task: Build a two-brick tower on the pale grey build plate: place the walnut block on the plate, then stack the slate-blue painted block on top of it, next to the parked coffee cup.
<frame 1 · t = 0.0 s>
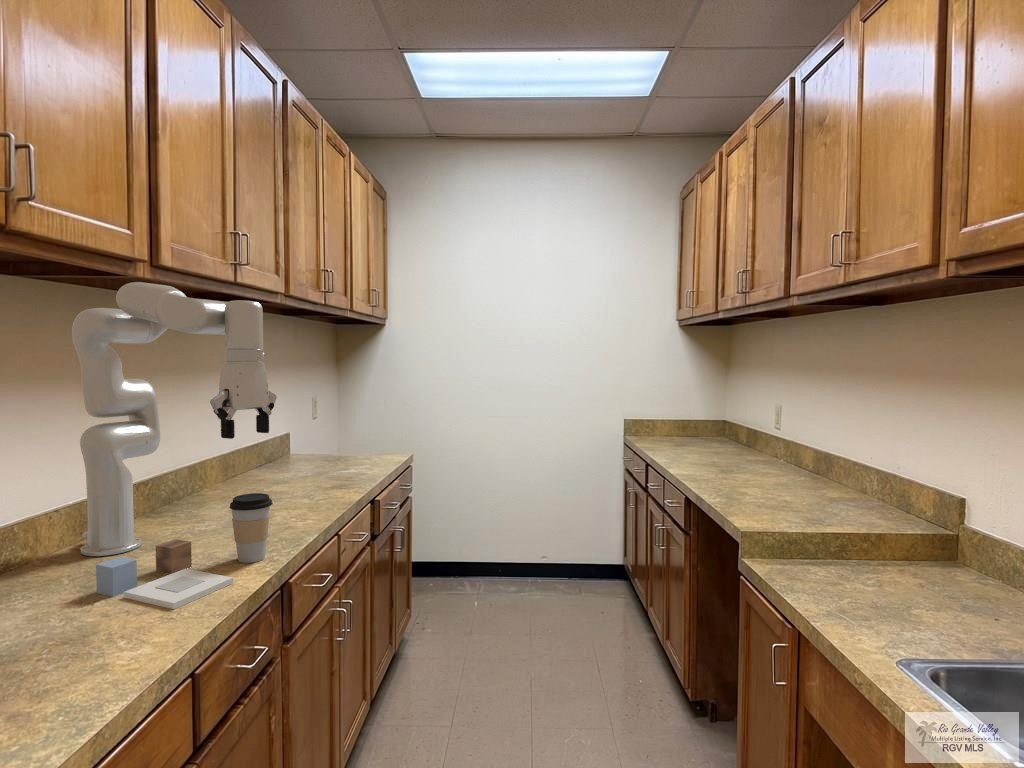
hand: (245, 435, 129), 31 cm above the worktop, fingers open, 9 cm apart
coffee cup: (252, 559, 140), on the worktop
block walnut: (174, 569, 133), on the worktop
build plate: (180, 590, 121), on the worktop
block blue: (117, 590, 121), on the worktop
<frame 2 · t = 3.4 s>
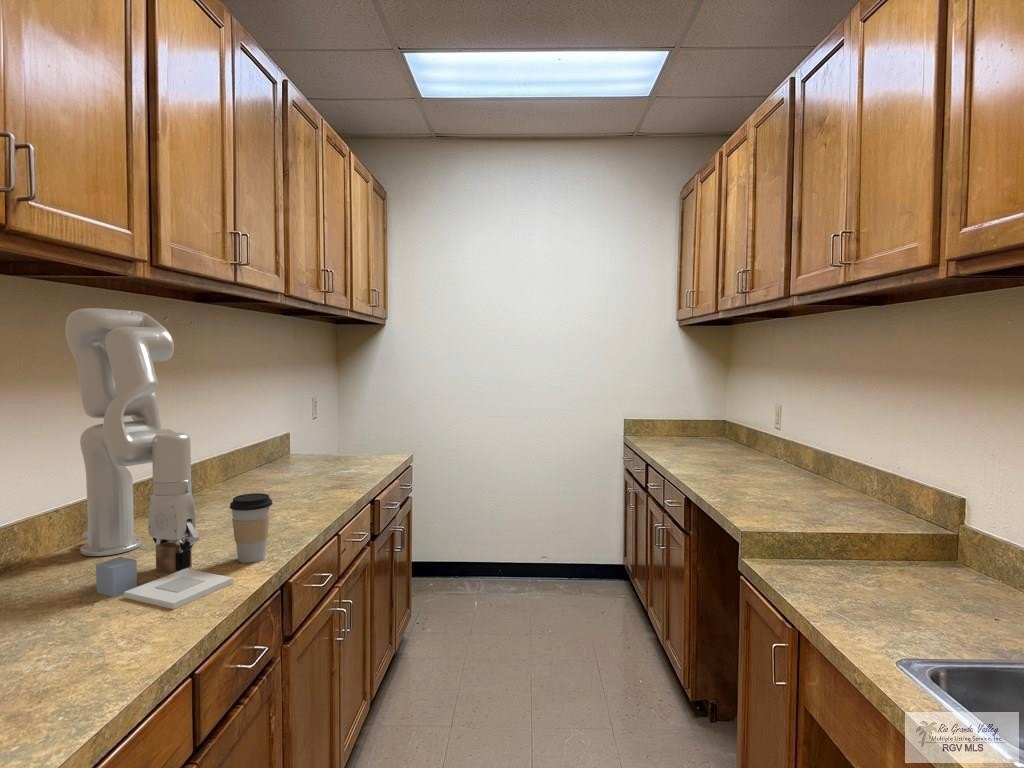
hand: (174, 565, 133), 1 cm above the worktop, fingers closed on block walnut, 5 cm apart
block walnut: (174, 569, 133), on the worktop, touching gripper
everything else where it was.
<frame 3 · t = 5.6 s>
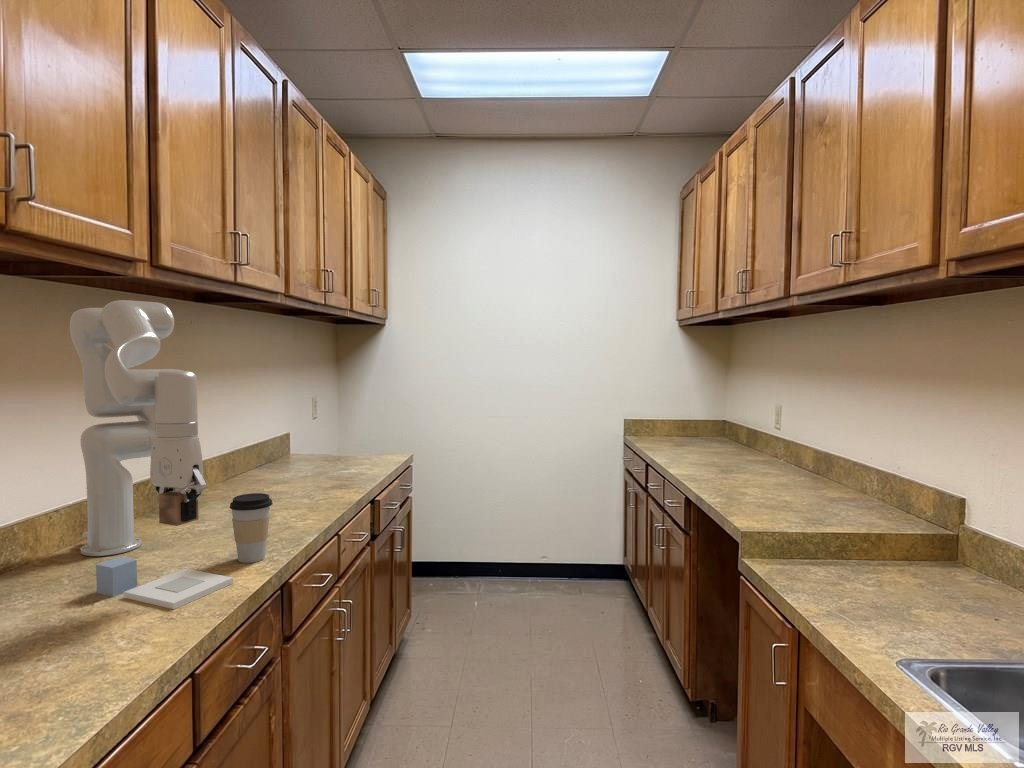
hand: (179, 517, 121), 15 cm above the worktop, fingers closed on block walnut, 5 cm apart
block walnut: (179, 521, 121), point 14 cm above the worktop, touching gripper
everything else where it was.
when the fingers open (3 cm above the worktop, at t = 8.1 s): block walnut drops 1 cm, resting on build plate.
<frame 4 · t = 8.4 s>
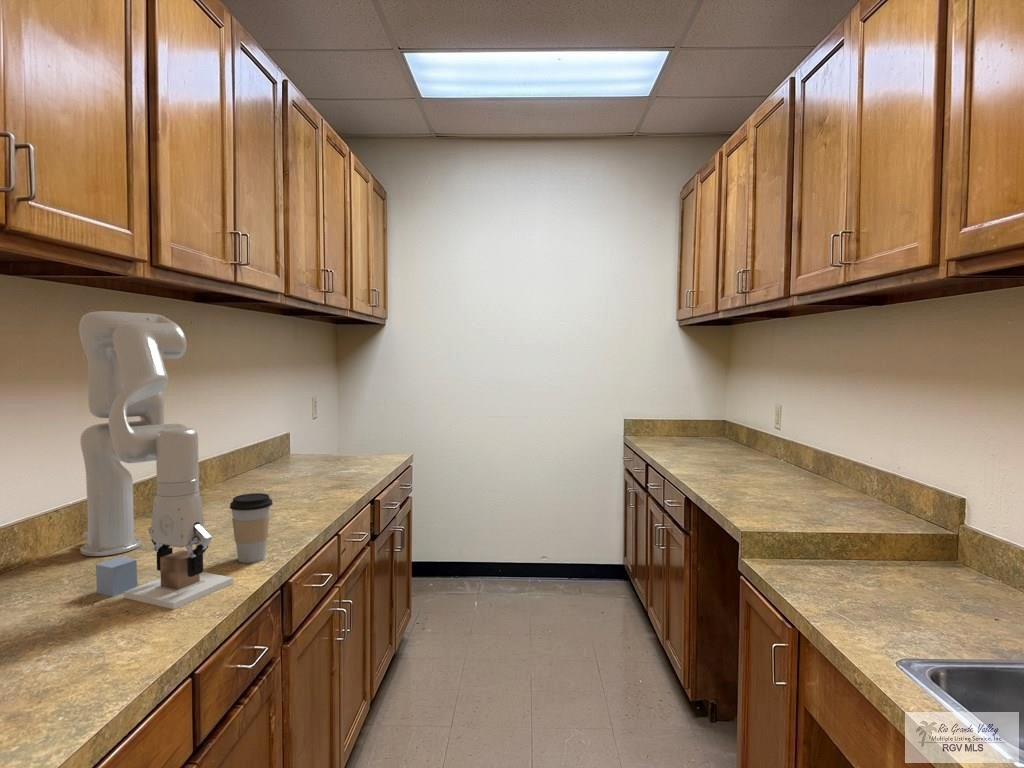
hand: (180, 571, 121), 4 cm above the worktop, fingers open, 8 cm apart
block walnut: (180, 583, 121), point 1 cm above the worktop, touching build plate
everything else where it was.
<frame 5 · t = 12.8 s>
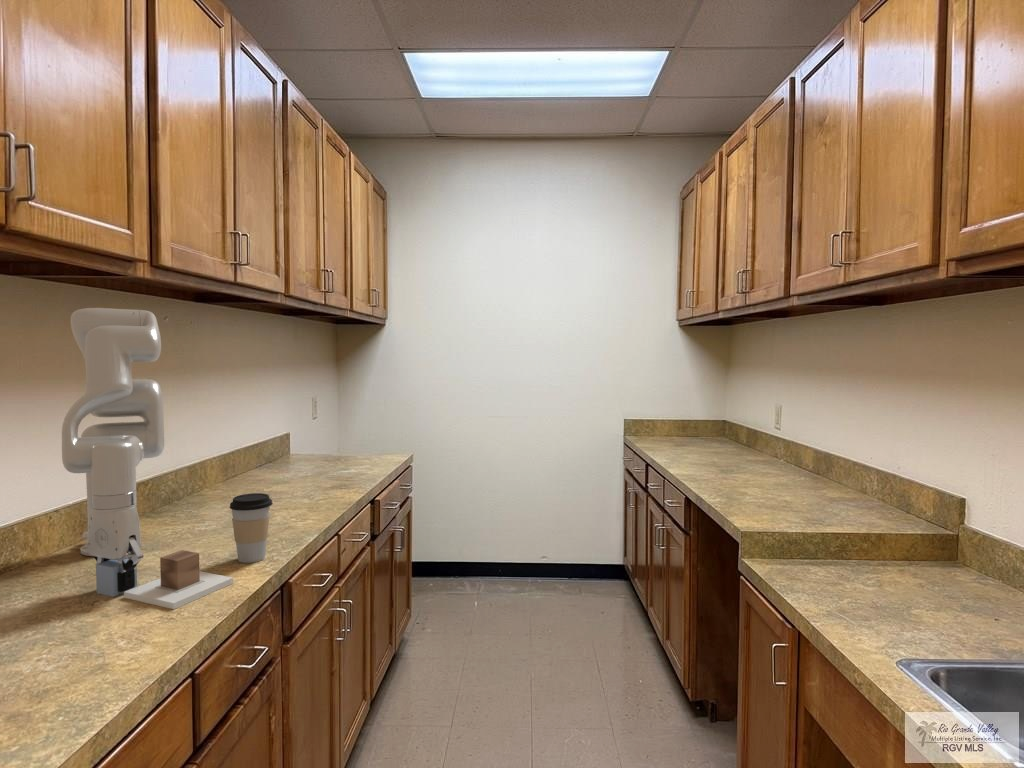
hand: (116, 586, 121), 1 cm above the worktop, fingers closed on block blue, 5 cm apart
block blue: (117, 590, 121), on the worktop, touching gripper
everything else where it was.
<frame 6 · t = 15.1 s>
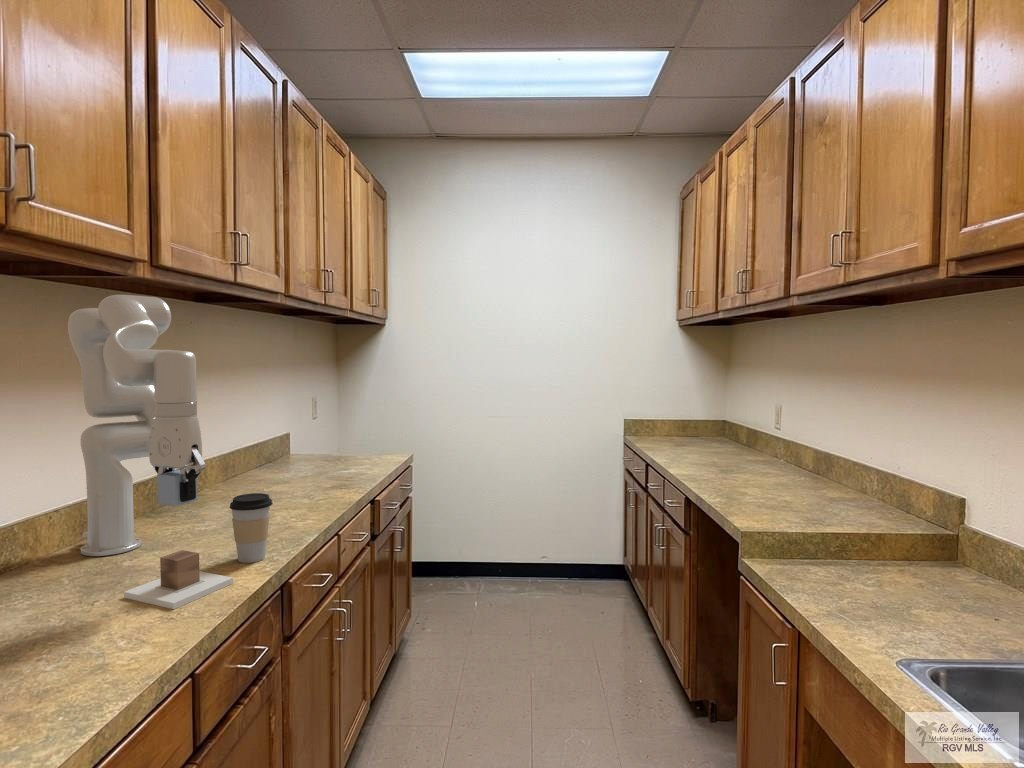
hand: (178, 498, 120), 19 cm above the worktop, fingers closed on block blue, 5 cm apart
block blue: (177, 501, 120), point 19 cm above the worktop, touching gripper
everything else where it was.
when the fingers open (9 cm above the worktop, at t = 17.8 s): block blue stays where it is, resting on block walnut.
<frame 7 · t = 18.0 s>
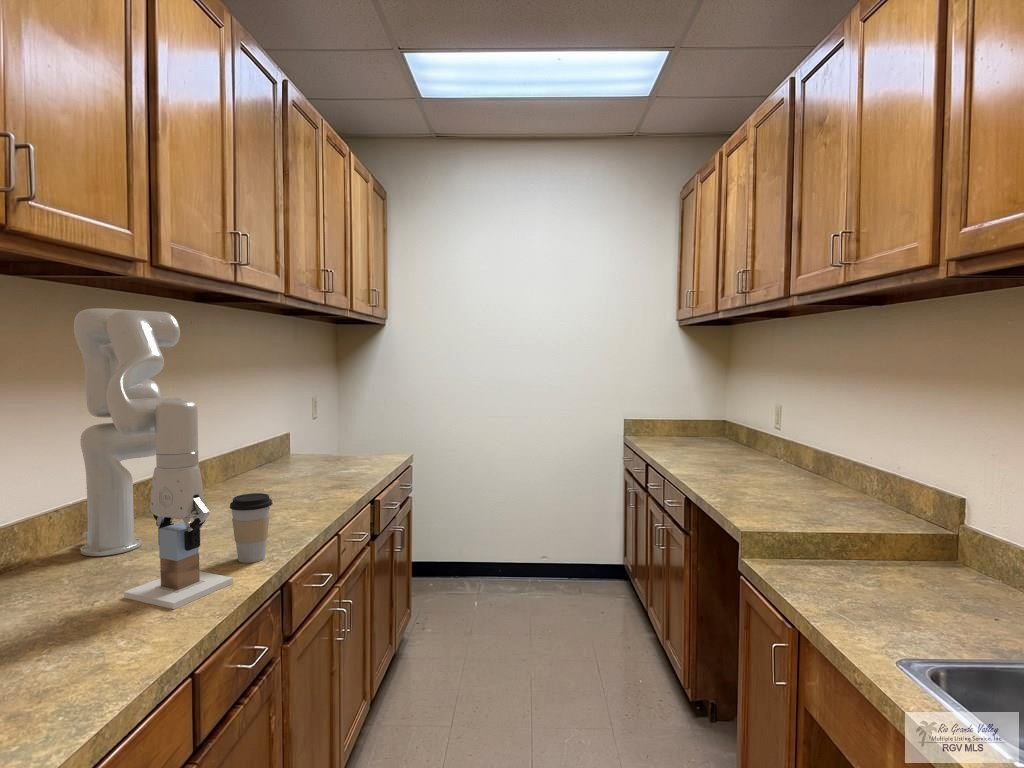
hand: (179, 545, 121), 9 cm above the worktop, fingers open, 6 cm apart
block walnut: (180, 583, 121), point 1 cm above the worktop, touching block blue, build plate
block blue: (179, 555, 121), point 7 cm above the worktop, touching block walnut
everything else where it was.
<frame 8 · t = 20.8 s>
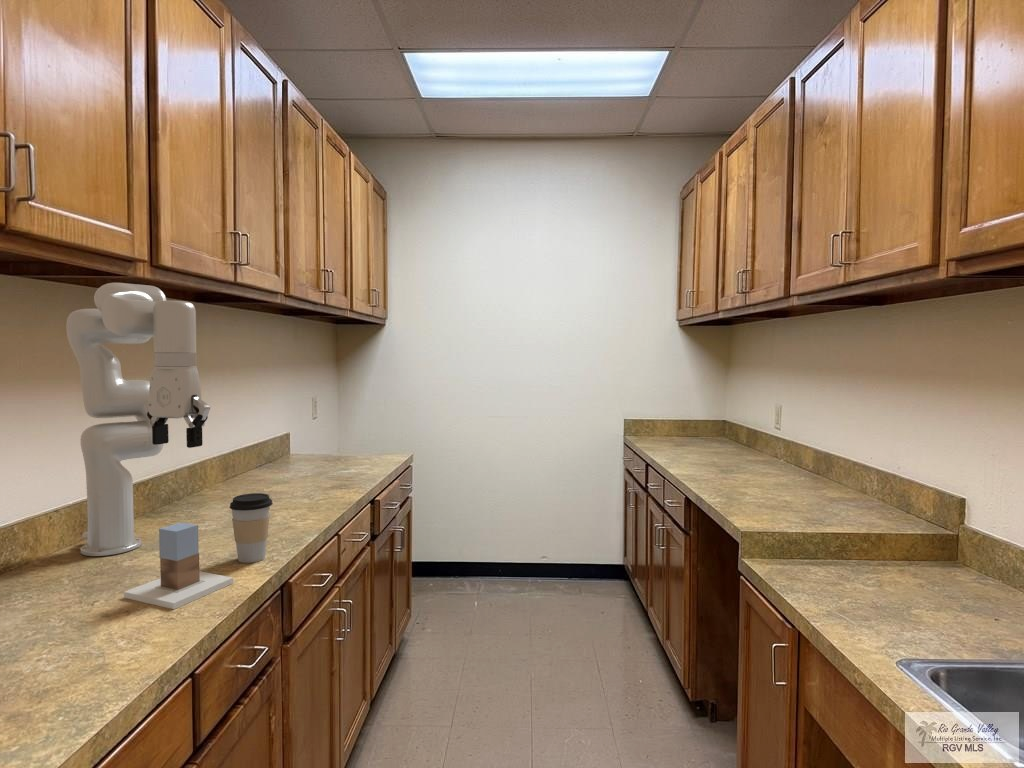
hand: (177, 445, 120), 30 cm above the worktop, fingers open, 9 cm apart
nothing on the worktop moved.
at the end: block walnut inside the target area on the build plate (0.0 cm from its centre), point 1.3 cm above the build plate's base; block blue 0.1 cm off-centre on the block walnut, point 6.0 cm above the block walnut's base; block blue tilted 0° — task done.
